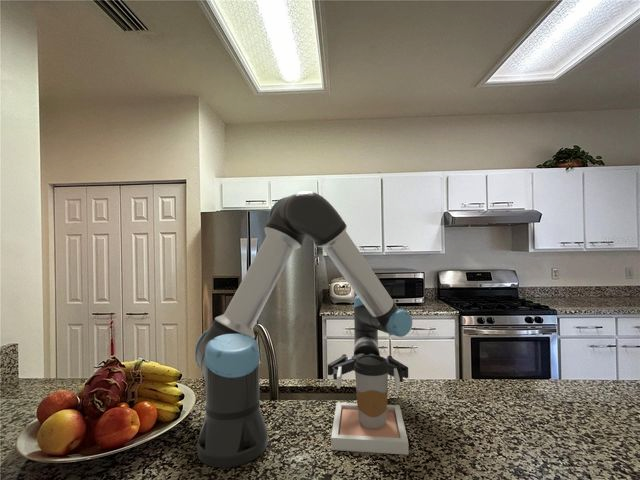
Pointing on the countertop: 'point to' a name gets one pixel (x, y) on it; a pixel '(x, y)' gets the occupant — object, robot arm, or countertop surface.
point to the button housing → (369, 442)
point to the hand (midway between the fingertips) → (367, 383)
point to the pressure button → (353, 427)
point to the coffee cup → (371, 390)
